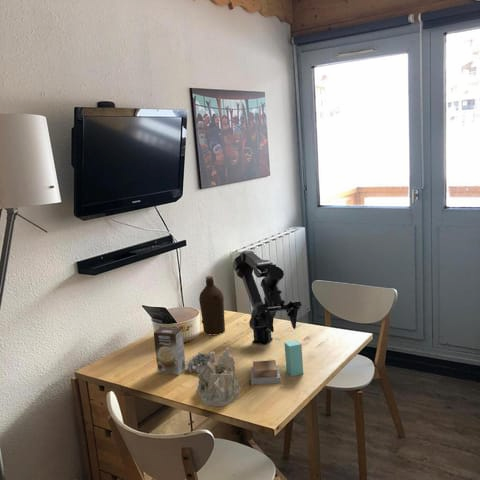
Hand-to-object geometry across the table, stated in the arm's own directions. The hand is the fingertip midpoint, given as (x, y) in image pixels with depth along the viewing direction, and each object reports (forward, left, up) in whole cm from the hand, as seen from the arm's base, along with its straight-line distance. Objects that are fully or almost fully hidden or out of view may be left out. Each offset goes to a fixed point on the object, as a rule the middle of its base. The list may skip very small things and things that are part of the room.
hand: (283, 330), depth 193 cm
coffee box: (-37, -22, -13) cm, 44 cm away
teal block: (+6, -6, -13) cm, 16 cm away
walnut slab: (-2, -13, -11) cm, 17 cm away
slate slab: (-2, -13, -13) cm, 19 cm away
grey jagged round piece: (-11, -30, -13) cm, 34 cm away
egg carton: (-29, -15, -13) cm, 35 cm away
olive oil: (-45, +18, -13) cm, 50 cm away
